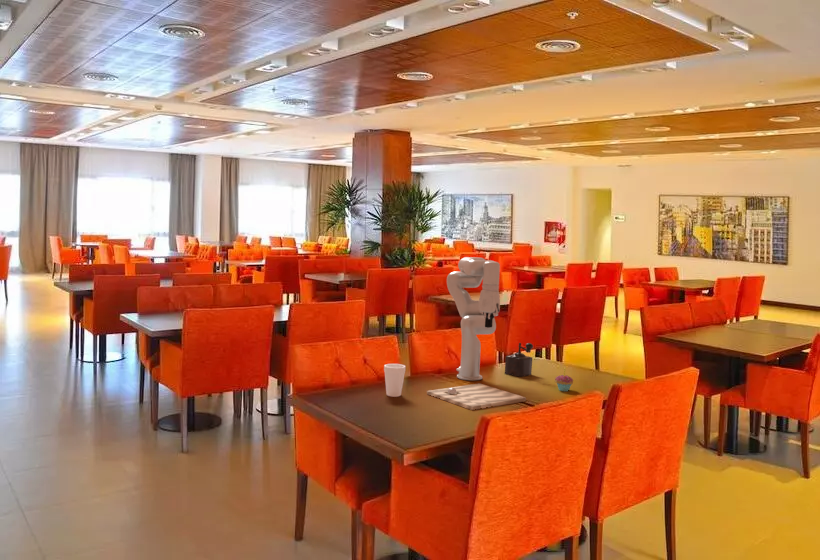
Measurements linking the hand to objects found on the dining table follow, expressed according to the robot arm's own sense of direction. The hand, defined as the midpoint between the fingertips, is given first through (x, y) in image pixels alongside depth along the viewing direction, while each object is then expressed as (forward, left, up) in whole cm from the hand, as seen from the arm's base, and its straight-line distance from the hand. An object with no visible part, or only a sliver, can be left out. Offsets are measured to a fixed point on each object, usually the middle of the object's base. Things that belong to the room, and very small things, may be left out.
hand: (488, 327), depth 330 cm
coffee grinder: (-13, +38, -29) cm, 50 cm away
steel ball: (+5, -25, -27) cm, 37 cm away
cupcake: (+20, +32, -29) cm, 48 cm away
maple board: (+11, -16, -29) cm, 35 cm away
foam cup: (-10, -46, -29) cm, 55 cm away
